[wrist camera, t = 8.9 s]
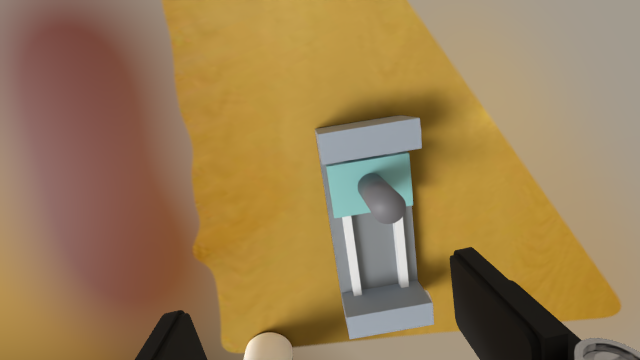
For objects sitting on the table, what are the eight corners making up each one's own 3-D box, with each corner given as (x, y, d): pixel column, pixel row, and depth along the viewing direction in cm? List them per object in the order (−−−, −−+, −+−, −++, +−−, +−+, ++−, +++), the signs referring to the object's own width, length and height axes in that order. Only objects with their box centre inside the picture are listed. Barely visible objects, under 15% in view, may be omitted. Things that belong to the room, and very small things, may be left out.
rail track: (314, 129, 35) (317, 134, 29) (403, 114, 35) (423, 117, 29) (342, 305, 41) (349, 339, 35) (418, 292, 41) (437, 323, 35)
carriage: (325, 164, 33) (333, 184, 26) (406, 151, 34) (437, 166, 26) (333, 215, 35) (343, 247, 27) (410, 202, 35) (441, 230, 27)
